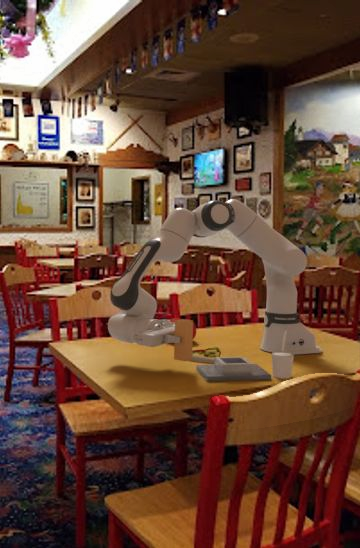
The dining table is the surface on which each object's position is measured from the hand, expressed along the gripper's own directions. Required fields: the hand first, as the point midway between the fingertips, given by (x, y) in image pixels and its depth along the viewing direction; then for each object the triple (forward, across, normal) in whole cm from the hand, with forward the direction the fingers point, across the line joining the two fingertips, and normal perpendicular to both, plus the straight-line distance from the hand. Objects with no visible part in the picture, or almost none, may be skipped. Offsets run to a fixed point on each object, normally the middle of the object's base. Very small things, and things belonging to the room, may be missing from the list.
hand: (185, 338), depth 197 cm
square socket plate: (+11, +10, +12) cm, 19 cm away
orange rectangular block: (-1, 0, +6) cm, 7 cm away
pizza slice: (-9, +26, +13) cm, 31 cm away
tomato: (-31, +40, +12) cm, 52 cm away
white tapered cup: (+23, +19, +12) cm, 33 cm away
